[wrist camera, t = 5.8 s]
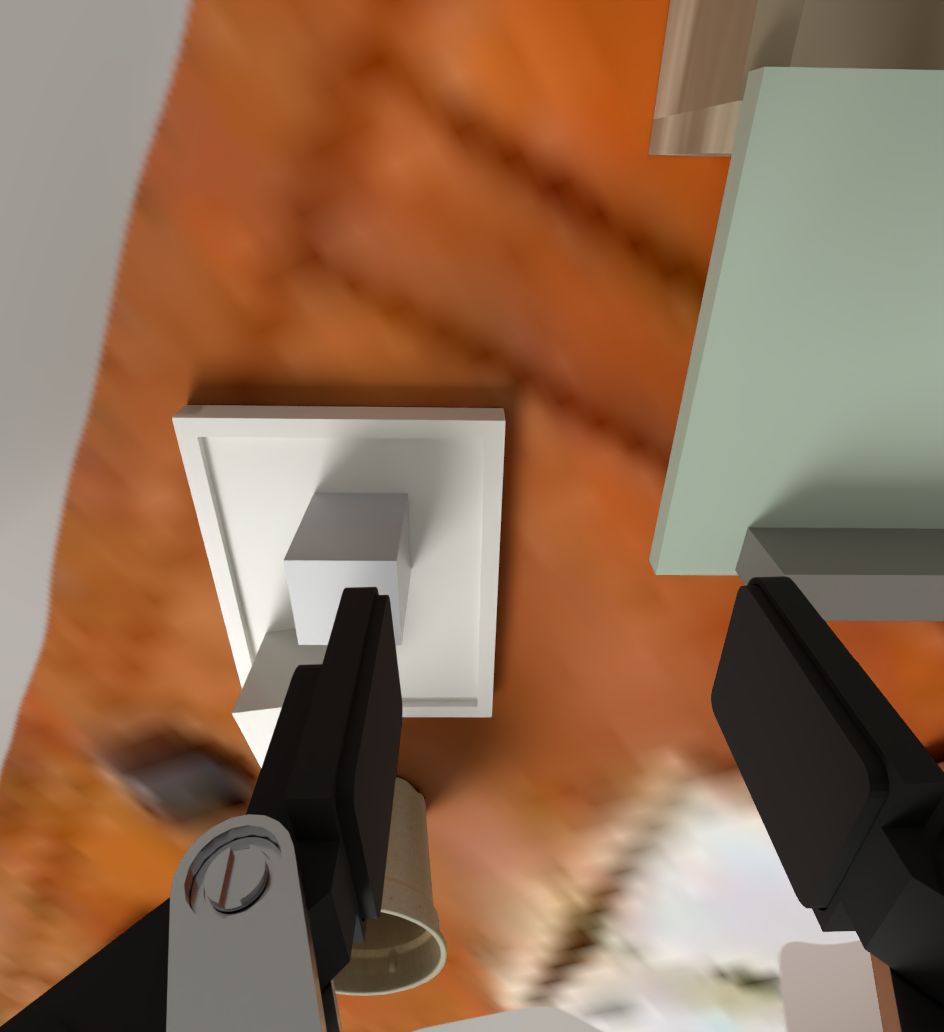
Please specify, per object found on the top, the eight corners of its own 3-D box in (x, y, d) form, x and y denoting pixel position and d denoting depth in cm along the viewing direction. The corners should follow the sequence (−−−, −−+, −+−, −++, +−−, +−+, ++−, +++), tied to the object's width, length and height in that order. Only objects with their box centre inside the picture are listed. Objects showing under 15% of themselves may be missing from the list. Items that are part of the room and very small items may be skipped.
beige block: (344, 622, 29) (324, 702, 25) (365, 679, 31) (349, 763, 27) (265, 632, 29) (231, 713, 25) (291, 689, 31) (264, 772, 27)
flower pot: (279, 765, 36) (232, 921, 29) (430, 742, 35) (421, 897, 28) (331, 851, 41) (301, 1004, 33) (464, 832, 40) (464, 985, 33)
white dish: (503, 408, 25) (505, 420, 23) (490, 697, 33) (491, 717, 32) (186, 404, 24) (171, 417, 23) (257, 696, 33) (249, 717, 32)
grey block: (407, 493, 25) (396, 561, 21) (411, 569, 27) (401, 645, 23) (313, 492, 25) (283, 560, 21) (324, 568, 27) (298, 644, 23)
